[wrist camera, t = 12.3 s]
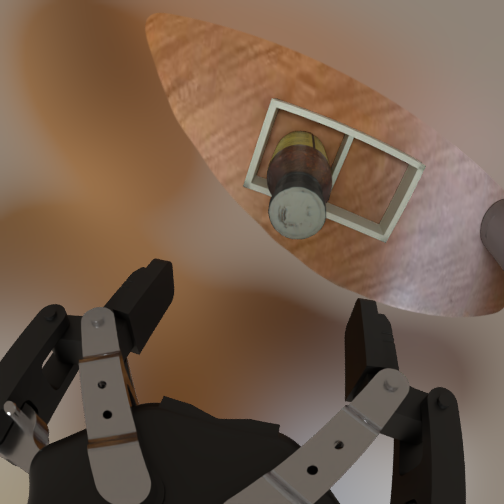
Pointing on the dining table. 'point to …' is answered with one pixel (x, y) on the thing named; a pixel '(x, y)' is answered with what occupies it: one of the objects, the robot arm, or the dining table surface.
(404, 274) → the dining table surface
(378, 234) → the corral
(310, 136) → the sauce bottle
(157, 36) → the dining table surface
